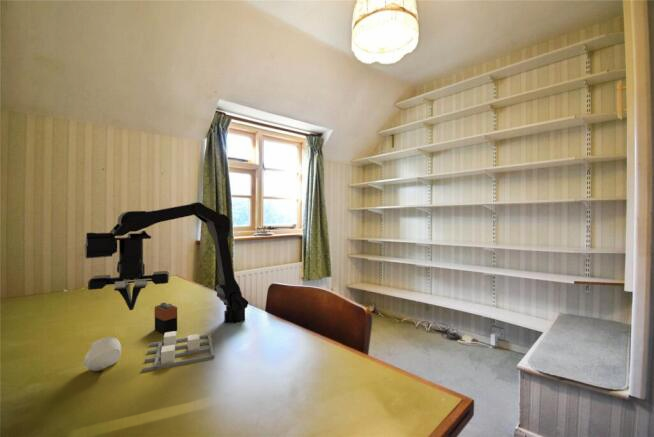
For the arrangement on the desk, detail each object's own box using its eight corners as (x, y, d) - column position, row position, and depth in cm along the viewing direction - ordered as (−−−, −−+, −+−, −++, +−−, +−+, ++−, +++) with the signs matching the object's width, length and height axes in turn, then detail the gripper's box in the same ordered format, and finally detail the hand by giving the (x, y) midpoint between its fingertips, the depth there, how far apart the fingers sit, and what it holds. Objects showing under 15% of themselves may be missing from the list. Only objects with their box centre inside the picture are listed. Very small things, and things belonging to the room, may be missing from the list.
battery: (164, 338, 94) (164, 307, 94) (154, 333, 98) (153, 303, 98) (178, 334, 97) (177, 303, 97) (167, 329, 101) (167, 300, 101)
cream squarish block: (176, 342, 88) (176, 331, 88) (175, 347, 85) (175, 335, 85) (164, 344, 87) (164, 332, 87) (163, 349, 83) (163, 337, 83)
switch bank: (210, 339, 93) (210, 333, 93) (214, 363, 79) (214, 355, 79) (143, 350, 85) (143, 343, 85) (134, 378, 71) (134, 370, 71)
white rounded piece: (84, 366, 77) (84, 336, 77) (120, 358, 81) (120, 330, 81) (83, 380, 70) (83, 348, 70) (122, 370, 75) (122, 339, 75)
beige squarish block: (199, 345, 86) (199, 333, 86) (199, 351, 83) (199, 338, 83) (187, 347, 85) (187, 335, 85) (187, 353, 81) (187, 340, 81)
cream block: (175, 357, 79) (174, 344, 79) (174, 363, 76) (174, 350, 76) (162, 359, 78) (162, 346, 78) (160, 366, 74) (160, 352, 74)
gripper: (169, 250, 96) (170, 298, 96) (98, 253, 88) (99, 305, 88) (167, 254, 86) (167, 308, 86) (87, 258, 78) (87, 317, 78)
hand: (131, 309), depth 85 cm, fingers closed
